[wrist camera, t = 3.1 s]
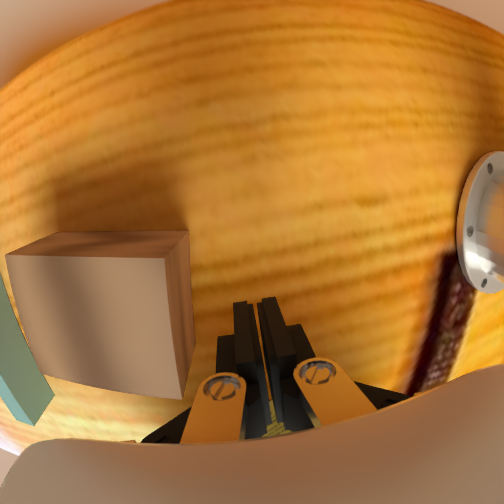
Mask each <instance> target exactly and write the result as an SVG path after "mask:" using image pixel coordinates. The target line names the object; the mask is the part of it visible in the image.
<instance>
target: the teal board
mask: <svg viewBox="0 0 504 504" xmlns="http://www.w3.org/2000/svg"><path fill="white" fill-rule="evenodd" d="M54 396H55V395H54V393H53V392H52V390H51V388H50V387H49V385H48V383H47V382H46V380H45V378H44V376H43V374H42V373H40V371H39V369H38V367H37V364H36V362H35V359H34V357H33V355H32V353H31V351H30V349H29V347H28V345H27V343H26V341H25V338H24V336H23V334H22V332H21V329H20V327H19V325H18V322H17V320H16V317H15V315H14V312H13V309H12V307H11V304H10V301H9V298H8V296H7V293H6V290H5V287H4V284H3V280H2V277H1V274H0V397H1V398H2V400H3V401H4V403H5V404H6V406H7V407H8V409H9V410H10V412H11V413H12V414H13V416H14V417H15V419H16V420H18V421H21V422H23V423H26V424H29V425H32V426H35V424H36V423H37V421H38V420H39V418H40V416H41V415H42V413H43V412H44V410H45V409H46V407H47V406H48V404H49V403H50V401H51V400H52V399H53V397H54Z"/></svg>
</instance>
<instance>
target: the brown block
mask: <svg viewBox="0 0 504 504" xmlns="http://www.w3.org/2000/svg"><path fill="white" fill-rule="evenodd" d="M5 258H6V263H7V269H8V273H9V278H10V283H11V287H12V291H13V295H14V299H15V303H16V306H17V310H18V313H19V317H20V320H21V323H22V326H23V329H24V332H25V335H26V338H27V341H28V344H29V346H30V349H31V352H32V354H33V357H34V359H35V362H36V364H37V367H38V369H39V371H40V373H42V374H45V375H48V376H52V377H55V378H59V379H63V380H67V381H70V382H74V383H79V384H83V385H87V386H92V387H97V388H102V389H107V390H112V391H118V392H123V393H130V394H136V395H143V396H151V397H159V398H169V399H179V400H182V398H183V394H184V390H185V385H186V381H187V377H188V372H189V368H190V364H191V360H192V356H193V352H194V348H195V343H196V342H195V330H194V318H193V304H192V289H191V271H190V247H189V231H94V232H57V233H55V234H52V235H50V236H47V237H45V238H42V239H40V240H38V241H35V242H33V243H30V244H28V245H26V246H24V247H21V248H19V249H17V250H15V251H12V252H10V253H8V254H6V255H5Z"/></svg>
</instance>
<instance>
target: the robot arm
mask: <svg viewBox="0 0 504 504" xmlns="http://www.w3.org/2000/svg"><path fill="white" fill-rule="evenodd" d="M456 237H457V252H458V258H459V263H460V266H461V269H462V272H463V274H464V276H465V278H466V280H467V281H468V282H469V283H470V284H471V285H472V286H473V287H474V288H476V289H477V290H479V291H480V292H483V293H486V294H491V293H496V292H499V291H501V290H502V289H504V151H493V152H489V153H487V154H485V155H484V156H482V157H481V158H480V159H479V160H478V161H477V163H476V164H475V165H474V167H473V168H472V170H471V172H470V174H469V175H468V178H467V181H466V183H465V186H464V188H463V192H462V196H461V200H460V204H459V211H458V217H457V231H456ZM257 308H258V315H259V323H260V330H261V337H262V344H263V351H264V358H265V364H266V369H267V374H268V379H269V384H270V390H271V395H272V400H273V405H274V410H275V415H276V420H277V423H282V422H283V424H284V429H285V430H290V431H293V432H291V433H286V434H280V435H274V436H268V437H262V436H263V435H264V434H267V427H266V425H270V424H272V418H271V412H270V405H269V398H268V391H267V385H266V378H265V371H264V364H263V358H262V352H261V347H260V342H259V336H258V331H257V325H256V320H255V314H254V309H253V304H247V301H243V302H236V303H233V311H234V334H233V335H226V336H218V339H217V357H216V374H214V375H211V376H209V377H207V378H206V379H205V380H203V381H202V382H201V384H200V385H199V387H198V390H197V393H196V396H195V399H194V402H193V405H192V406H191V407H190V408H189V409H187V410H186V411H184V412H183V413H181V414H180V415H178V416H177V417H175V418H174V419H172V420H171V421H169V422H168V423H166V424H165V425H163V426H162V427H160V428H159V429H157V430H155V431H154V432H152V433H151V434H149V435H148V436H146V437H145V438H144V439H143V440H142V441H141V443H136V441H135V440H130V441H121V442H117V441H103V440H92V439H75V438H67V439H53V440H46V441H42V442H38V443H35V444H32V445H30V446H29V447H27V448H26V449H25V450H24V451H23V452H22V453H21V454H20V455H19V457H18V458H17V459H16V461H15V462H14V464H13V465H12V467H11V468H10V470H9V472H8V474H7V475H6V477H5V479H4V481H3V483H2V485H1V487H0V504H504V364H499V365H493V366H488V367H485V368H481V369H478V370H475V371H473V372H470V373H468V374H465V375H462V376H460V377H458V378H456V379H454V380H452V381H449V382H447V383H445V384H442V385H440V386H438V387H435V388H433V389H431V390H429V391H424V392H420V393H415V394H414V396H413V397H412V398H410V397H409V396H408V395H405V394H402V393H398V392H394V391H390V390H385V389H381V388H377V387H373V386H369V385H366V384H362V383H358V382H355V381H352V379H351V378H350V377H349V376H348V375H347V373H346V372H345V371H344V370H343V369H342V368H341V366H340V365H339V364H338V363H336V362H335V361H333V360H331V359H328V358H316V356H315V354H314V352H313V350H312V347H311V345H310V343H309V341H308V339H307V337H306V335H305V332H304V330H303V328H302V326H301V324H296V325H291V326H286V324H285V322H284V319H283V316H282V314H281V311H280V308H279V306H278V303H277V300H276V297H269V298H263V299H262V302H260V303H257Z"/></svg>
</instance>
